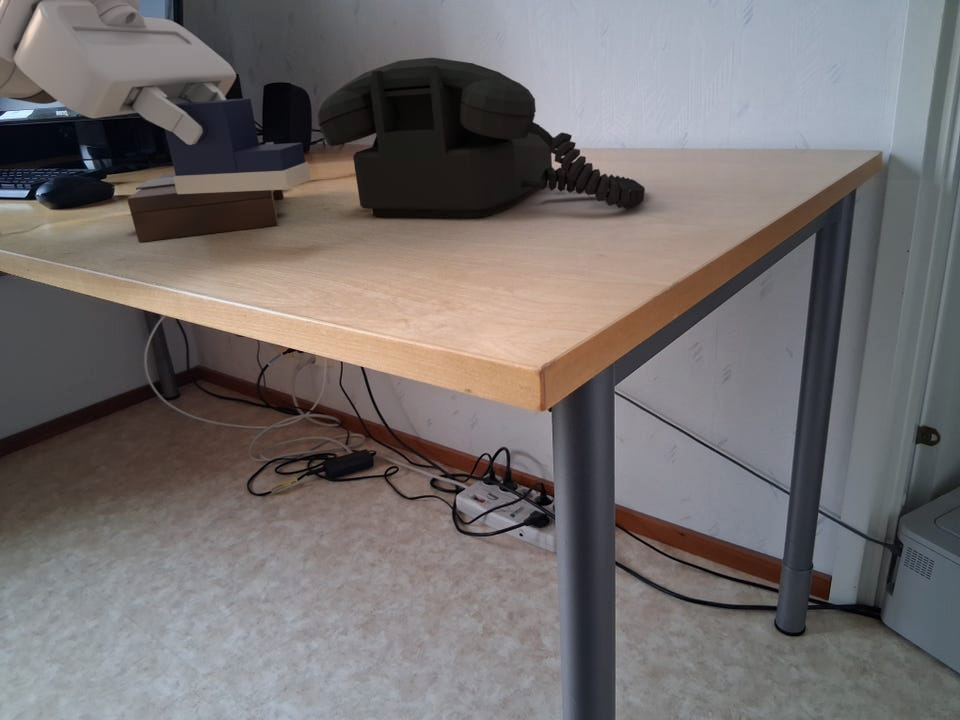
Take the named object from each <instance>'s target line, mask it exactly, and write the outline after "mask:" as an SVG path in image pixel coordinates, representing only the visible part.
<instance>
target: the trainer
mask: <svg viewBox="0 0 960 720" xmlns="http://www.w3.org/2000/svg"><path fill="white" fill-rule="evenodd" d="M174 105H176V106H177V107H179V108H180V109H182V110H183V111H185V112H186V113H187V114H188V113H193V114H194V115H196V116H197V117H198V118H199V119H200V120H201V121H202V122H204V123H205V124H206V125H207V127H208V133H207V135H206V136H205V137H204V139H203V141H202V142H200V143H196V144H192V145H188V144H186V143H185V142H184V141H183V140H181V139H180V138H179V137H178V136H177V135H176V134H174V133H173V132H171V131H168V130H166V129H164V132H165V136H166V140H167V146H168V149H169V153H170V156H171V161H172V166H173V171H174V173H175V175H176V176H173V178H174V183H175V187H176V191H177V194H195V193H217V192H240V191H262V190H283V191H285V190H289V189H292V188H295V187H296V186H299V185H301V184H304V183H306V182H308V181H310V180H312V178H311V172H310V166H309V162H308V161H306V158H305V151H304V145H303V142H292V143H291V142H289V143H274V144H270V145H265V144H260V142H259V136H258V131H257V125H256V121H255V115H254V109H253V104H252V99H251V98H250V97H247V98H232V99H226V100H217V101H202V102H189V103H181V104H174Z"/></svg>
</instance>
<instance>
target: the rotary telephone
mask: <svg viewBox="0 0 960 720" xmlns="http://www.w3.org/2000/svg"><path fill="white" fill-rule="evenodd" d="M536 112H537V110H536V98H535V97H534V95H533V94H532V93H531V91H530V90H529V89H528V88H527V87H526V86H524V85H523V84H521V83H520V82H519V81H516V80H513V79H512V78H510V77H508V76H507V75H504V74H503V73H502V72H500V71H496V70H494V69H491V68H489V67H485V66H482V65H479V64H476V63H474V62H467V61H460V60H453V59H448V58H447V59H446V58H441V57H434V56H433V57H421V58H414V59H402V60H397V61H394V62H391V63H388V64H386V65H385V64H384V65H383V66H382V65H381V66H380V67H377V68H374V69H371V70H368V71H365V72H364V73H362V74H360V75H358V76H357V77H355V78H354V79H351V80H350V81H348V82H346V83H345V84H344V85H342V86H341V87H339V89H337V90H336V91H335V92H333V93H332V94H330V95H329V96H328V97H326V98H325V100H324V101H323V102H322V103H321V105H320V108H319V110H318V112H317V123H318V127H319V131H320V132H321V134H322V136H323V138H324V140H325V142H326V144H327V145H328V146H330V147H336V146H341V145H345V144H349V143H353V142H355V141H358V140H361V139H365V138H367V137H369V136H372V135H375V138H374V140H373V144H372V145H371V147H368V148H365V149H362V150H359V151H356V152H355V153H354V154H353V156H352V158H353V159H352V160H353V165H354V171H355V178H356V186H357V191H358V192H357V193H358V198H359V205H360V207H361V208H362V209H366V210H372V216H374V217H379V218H381V217H384V218H385V217H387V218H390V217H391V218H451V219H452V218H453V219H454V218H456V219H459V218H461V219H474V218H475V219H476V218H484V217H488V216H491V215H495V214H497V213H500V212H503V211H505V210H508V209H510V208H511V207H513V206H514V205H515V204H518V203H519V202H520V201H522V200H523V199H525V198H527V197H528V196H530V195H531V194H533V193H534V192H536V191H538V189H541V190H544V189H546V188H548V189H549V190H550V191H553V190H555V189H557V190H558V192H564V191H567V192H568V193H569V194H570V193H571V194H572V193H573V192H576V193H577V194H578V195H580V194H582V193H585V194H586V195H587V196H595V199H596V200H597V202H602V201H603V202H604V201H605V202H606V204H607V205H608V207H610V206H611V207H612V206H614V205H616V207H617V208H618V209H620V208H622V207H623V208H624V209H631V208H633V207H635V206H637V205H640V204H642V203H643V202H644V199H645V191H646V188H645V187H644V186H643V185H642V184H641V183H639V182H638V181H636V180H635V179H633V178H629V177H627V178H626V177H625V176H619V175H618V174H617V175H616V176H614V175H613V174H609V176H608V174H607V173H603V174H601V171H600V169H599V168H598V169H597V168H596V169H594V167H593V162H587V157H586V156H582V155H581V149H579V148H576V141H572V137H573V135H572V134H569V133H567V132H560V133H558V134H557V135H555V136H553V135H552V134H551V133H549V131H547V130H546V129H545V128H543V127H542V126H541V125H540V124H538V123H536V122H534V119H535V116H536V114H535V113H536ZM552 154H553V155H554V162H556V163H558V164H560V167H557V168H556V169H555V168H554V167H553V159H552V158H553V157H552V156H553V155H552Z"/></svg>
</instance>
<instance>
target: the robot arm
mask: <svg viewBox="0 0 960 720" xmlns="http://www.w3.org/2000/svg"><path fill="white" fill-rule="evenodd" d="M236 79H237V74H236V72H235V70H234V68H233V66H232V65H231V64H230V63H229V62H228V61H226V60H225V59H224V58H223V56H221V55H219V54H218V53H217V52H215V50H213V49H212V48H211V47H210V46H208V45H207V44H206V43H205V42H204V41H202V40H201V39H200V38H199V37H197V36H196V35H195V34H193V33H192V32H191V31H189V30H188V29H186V28H185V27H183V26H182V25H180V24H179V23H177V22H175V21H173V20H170V19H168V18H167V19H166V18H159V17H150V16H143V15H142V14H141V13H140V0H0V98H5V99H6V98H7V99H10V100H16V101H22V102H26V103H33V104H39V105H47V104H53V103H57V102H59V103H60V104H61V105H62V106H64V107H65V108H67V109H69V110H70V111H72V112H74V113H76V114H79V115H81V116H84V117H87V118H89V119H100V118H106V117H115V116H116V117H117V116H122V115H131V114H139V115H140V116H141V117H142V118H143V119H144V120H146V121H148V122H150V123H152V124H154V125H156V126H158V127H160V128H162V129H164V130H165V129H166V130H168V131H171V132H173V133H174V134H176V135H177V136H178V137H179V138H180V139H181V140H183V141H184V142H185V143H186V144H188V145H192V144H196V143H200V142H202V141H203V139H204V137H205V136H206V135H207V133H208V127H207V125H206V124H205V123H204V122H202V121H201V120H200V119H199V118H198V117H197V116H196V115H194V114H193V113H188V114H187V113H186V112H185V111H183V110H182V109H180V108H179V107H177V106H176V105H174V104H181V103H189V102H202V101H217V100H227V98H226V96H227V94H228V92H229V91H230V89H231V88H232V86H233V84H235V83H234V82H235V81H236Z"/></svg>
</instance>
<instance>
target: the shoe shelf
mask: <svg viewBox="0 0 960 720" xmlns="http://www.w3.org/2000/svg"><path fill="white" fill-rule="evenodd" d="M270 144H275V142H274V141H270V142H269V141H268V142H265V143H264V145H270ZM173 176H176V175H175V172H172V173H171V172H170V173H164V174H162V175H161V176H159V177H157V178H150V179H148V180H146V181H145V182H143V183H141V184H139V185H138V186H137V187H136V186H135V190H138V191H136V192H135V193H133V194H132V195H130V196H129V197H127V198H126V200H127V204H128V207H129V211H130V215H131V219H132V223H133V226H134V230H135V233H136V237H137V241H138V243H145V242H153V241H161V240H168V239H169V240H171V239H178V238H185V237H194V236H202V235H211V234H218V233H226V232H235V231H243V230H251V229H260V228H269V227H275V226H278V225H279V220H278V215H277V208H276V205H275V201H276V200H284V197H285V195H284V190H262V191H240V192H217V193H195V194H177V191H176V187H175V183H174V178H173Z"/></svg>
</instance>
